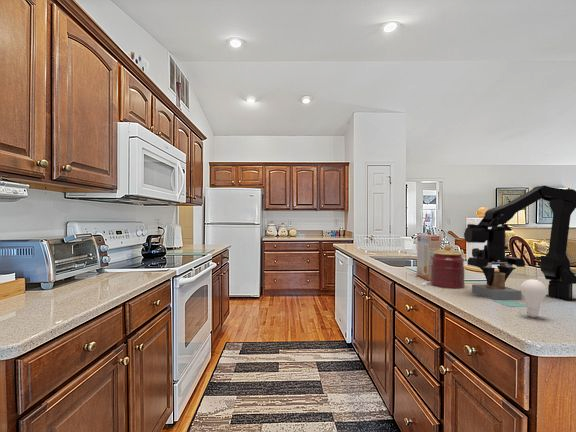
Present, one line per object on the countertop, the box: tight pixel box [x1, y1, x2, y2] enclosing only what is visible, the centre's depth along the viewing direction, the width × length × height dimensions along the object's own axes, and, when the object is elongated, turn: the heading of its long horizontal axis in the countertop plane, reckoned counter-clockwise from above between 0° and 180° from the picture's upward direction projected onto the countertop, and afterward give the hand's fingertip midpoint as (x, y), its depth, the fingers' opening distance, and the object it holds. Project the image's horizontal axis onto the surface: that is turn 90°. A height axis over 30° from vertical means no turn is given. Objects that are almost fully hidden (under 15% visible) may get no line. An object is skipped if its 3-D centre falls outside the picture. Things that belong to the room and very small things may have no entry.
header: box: [471, 283, 522, 301], centre depth 120 cm, size 10×12×4 cm
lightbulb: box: [519, 278, 548, 318], centre depth 96 cm, size 6×6×11 cm
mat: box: [493, 300, 527, 308], centre depth 109 cm, size 7×7×1 cm
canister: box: [430, 244, 466, 290], centre depth 139 cm, size 13×13×18 cm
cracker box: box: [416, 233, 442, 282], centre depth 158 cm, size 14×6×21 cm, turn 179°
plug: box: [486, 270, 506, 289], centre depth 120 cm, size 4×4×9 cm
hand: (495, 285), depth 120 cm, fingers closed on plug, 4 cm apart
